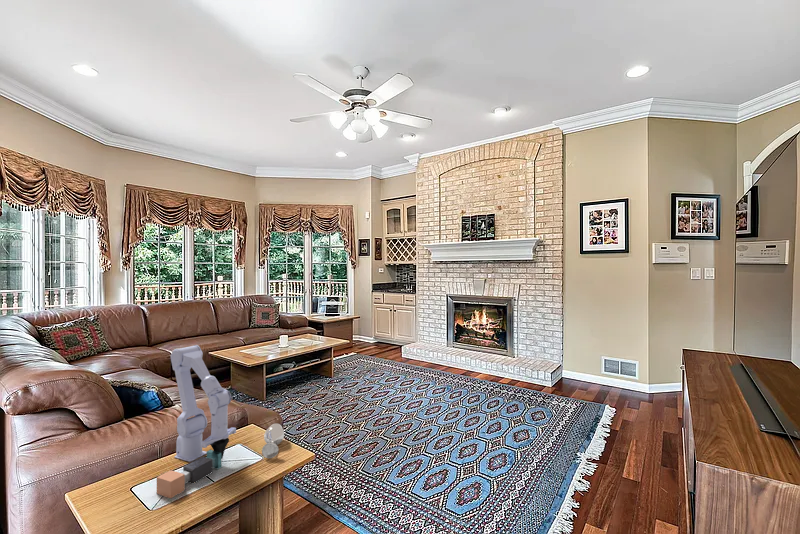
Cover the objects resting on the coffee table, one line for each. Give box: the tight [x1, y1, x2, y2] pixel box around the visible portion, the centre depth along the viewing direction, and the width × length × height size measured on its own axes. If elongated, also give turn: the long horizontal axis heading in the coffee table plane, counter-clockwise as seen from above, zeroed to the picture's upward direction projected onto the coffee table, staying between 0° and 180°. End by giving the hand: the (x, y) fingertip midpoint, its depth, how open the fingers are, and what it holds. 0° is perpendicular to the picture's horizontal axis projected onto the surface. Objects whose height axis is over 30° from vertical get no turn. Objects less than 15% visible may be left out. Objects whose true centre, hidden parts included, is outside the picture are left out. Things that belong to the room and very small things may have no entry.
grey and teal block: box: [180, 449, 222, 484], centre depth 137 cm, size 6×16×6 cm, turn 157°
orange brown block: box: [156, 469, 186, 499], centre depth 128 cm, size 7×5×6 cm
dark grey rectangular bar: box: [182, 456, 213, 484], centre depth 138 cm, size 5×8×5 cm, turn 157°
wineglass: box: [261, 423, 285, 459], centre depth 160 cm, size 8×8×18 cm
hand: (219, 458), depth 146 cm, fingers closed
